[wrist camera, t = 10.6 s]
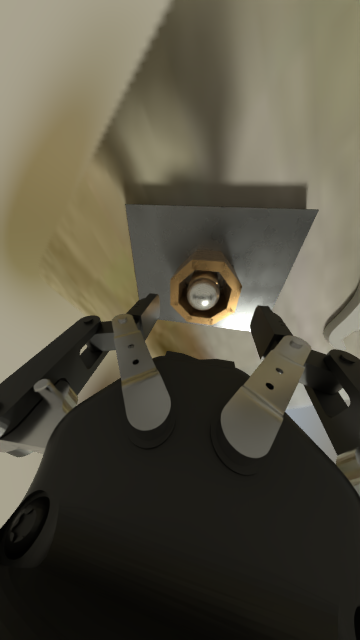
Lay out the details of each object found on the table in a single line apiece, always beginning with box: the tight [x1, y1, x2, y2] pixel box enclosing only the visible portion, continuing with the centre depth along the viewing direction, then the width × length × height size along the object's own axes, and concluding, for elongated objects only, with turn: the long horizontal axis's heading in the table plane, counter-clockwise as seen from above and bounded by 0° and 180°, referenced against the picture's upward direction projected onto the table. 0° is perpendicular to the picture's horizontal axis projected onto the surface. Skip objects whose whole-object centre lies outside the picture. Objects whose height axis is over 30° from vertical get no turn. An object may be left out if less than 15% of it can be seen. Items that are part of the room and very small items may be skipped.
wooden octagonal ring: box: [170, 250, 242, 325], centre depth 16 cm, size 6×6×5 cm
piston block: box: [125, 204, 318, 331], centre depth 16 cm, size 18×14×8 cm
